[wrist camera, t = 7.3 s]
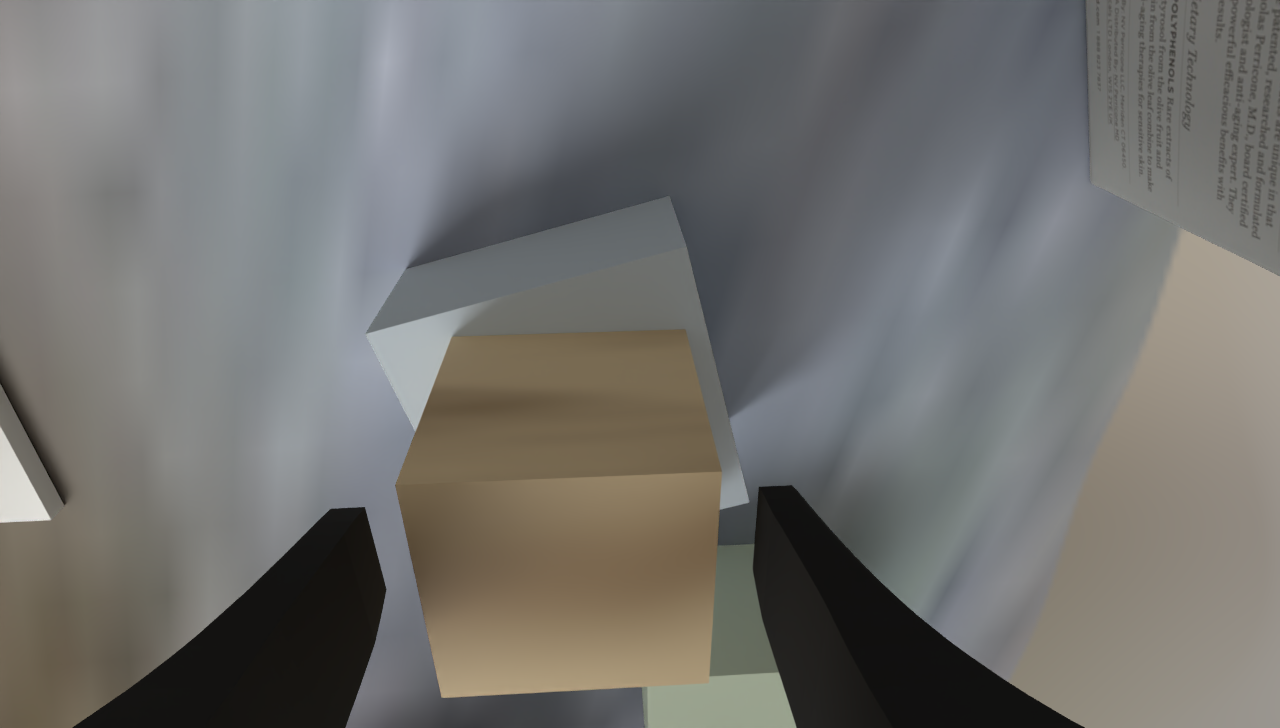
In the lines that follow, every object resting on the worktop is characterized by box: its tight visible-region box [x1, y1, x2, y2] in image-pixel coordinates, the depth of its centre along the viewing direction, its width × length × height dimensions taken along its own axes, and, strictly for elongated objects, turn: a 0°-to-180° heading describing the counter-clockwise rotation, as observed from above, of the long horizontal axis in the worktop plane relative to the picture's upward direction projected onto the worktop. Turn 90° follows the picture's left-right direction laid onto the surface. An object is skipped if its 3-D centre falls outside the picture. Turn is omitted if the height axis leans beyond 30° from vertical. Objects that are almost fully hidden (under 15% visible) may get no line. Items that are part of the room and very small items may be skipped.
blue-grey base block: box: [365, 196, 750, 510], centre depth 18 cm, size 7×7×4 cm
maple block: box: [395, 329, 722, 698], centre depth 14 cm, size 5×5×5 cm
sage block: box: [642, 544, 797, 728], centre depth 23 cm, size 5×5×5 cm
